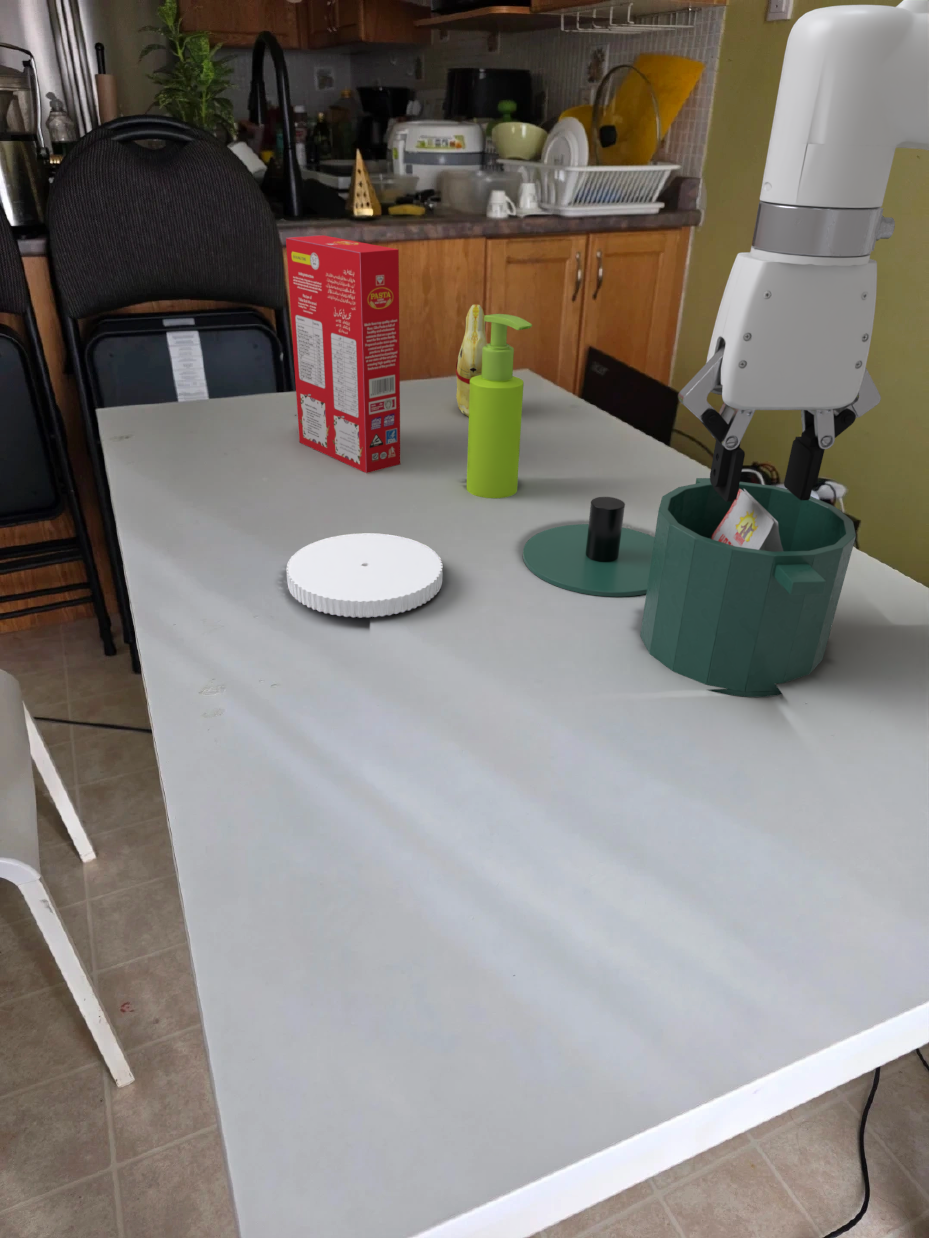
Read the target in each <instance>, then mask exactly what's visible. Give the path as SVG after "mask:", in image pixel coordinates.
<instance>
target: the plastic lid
mask: <svg viewBox="0 0 929 1238" xmlns="http://www.w3.org/2000/svg"><path fill="white" fill-rule="evenodd" d="M443 565H444V564H443V560H442V558H441V557H440V555H439V554H437V551H435V550H434V549H433V548H431V547H430V546H427V544H423V542H419V541H418V540H413V539H412V538H408V537H403V536H402V535H398V536H397V535H396V534H393V535H392V534H389V533H387V534H384V533H377V532H374V533H372V532H368V533H365V532H361V533H357V532H355V533H348V534H342V535H340V534H339V535H338V534H337V535H335V536H330V537H325V538H324V539H319V540H318V541H317V540H315V541H313V543H312V542H311V543H308V545H304V547H301V548H300V549H298V550H297V551H296V552H294V553H293V555H291V556H290V558H289V559H288V561H287V564H286V568H285V569H286V581H287V583H286V584H287V588H288V591H289V594H290V595H291V596H292V598H294V599H295V600H296V601H298V603H300V604H301V603H302V605H303V606H306V607H307V608H308V609H310V608H311V610H313V611H314V610H317V612H319V613H321V612H323V614H329V615H330V616H331V615H332V616H334V615H336V616H337V617H341V616H343V617H344V618H348V617H351V618H356V617H357V618H371V617H372V618H373V617H374V618H377V617H385V616H392V615H394V614H395V615H397V614H399V613H405V612H406V611H411V610H412V609H416V608H417V607H421V606H423V604H426V603H427V602H429V601H431V599H434V597H435V596H436V595H437V594H438V593H439V592H440V589H441V588H442V586H443V572H444V571H443V570H444V569H443V568H444V566H443Z"/></svg>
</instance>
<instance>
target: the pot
mask: <svg viewBox="0 0 929 1238" xmlns="http://www.w3.org/2000/svg"><path fill="white" fill-rule="evenodd" d="M739 488H740V489H741V490H743V491H744V489H745V490H746V491H747V492H748V493H749V494H750V495H751V496H752V497H753V498H754V499H755V500H756V501H757V502H758V503H759V504H760V505H761V506H762V507H763V508H764V509H765V510H766V511H768V512H769V513H770V514H771V515H772V516H773V517H774V518H775V519H776V520H777V521H778V529H779V536H780V541H781V545H782V548H783V552H771V551H764V550H757V549H750V548H743V547H736V546H732V545H729V544H726V543H722V542H719V541H716V540H713V539H711V538H712V535H713V533H714V532H715V530H716V529H717V527H718V526H719V524H720V523H721V521H722V520H723V518H724V517H725V515H726V514H727V512H728V511H729V509H730V507H731V505H732V504H733V502H734V501H733V502H726V501H725V500H724V499H723V498H722V497H721V496H720V495H719V494H718V493H717V492H716V491H715V490H714V488H713V485H712V484H711V482H710V477H696V479H695V483H693V484H686V485H681V486H678V487H676V488H674V489H673V490H671V491H670V492H668V493H666V494H664V495H662V497H661V500H660V502H659V503H660V504H659V507H658V512H657V517H656V518H657V519H656V524H655V530H654V537H655V538H654V545H653V552H652V558H651V565H650V572H649V579H648V586H647V592H646V594H645V600H644V607H643V614H642V620H641V628H640V634H639V636H640V639H641V641H642V642H643V644H644V646H645V648H646V650H647V652H648V654H649V655H651V656H652V657H653V658H654V659H656V660H657V661H658V662H659V663H661V664H662V665H663V666H665V667H666V668H668V669H669V670H670V671H671V672H673V673H675V674H678V675H680V676H683V677H686V678H688V679H691V680H693V681H696V682H698V683H700V684H703V685H706V686H709V687H710V686H711V687H716V688H711V689H705V690H706V691H709V692H714V693H717V694H722V695H728V696H736V697H747V698H765V697H775V696H780V695H783V692H782V691H781V690H780V688H779V687H778V686H777V684H784V683H788V682H791V681H795V680H796V679H800V678H802V677H805V676H808V675H810V674H811V673H812V672H813V671H814V670H815V669H816V668H817V667H818V666H819V665H820V663H821V662H822V661H823V659H824V656H825V652H826V649H827V645H828V642H829V637H830V633H831V630H832V627H833V622H834V619H835V616H836V612H837V607H838V604H839V600H840V598H841V594H842V590H843V585H844V581H845V578H846V574H847V570H848V567H849V565H850V564H849V563H850V560H851V556H852V553H853V549H854V544H855V541H856V537H857V535H856V530H855V525H854V520H852V519H851V518H850V517H848V516H847V515H846V514H845V513H843V512H842V511H841V510H840V509H839V508H837V507H836V506H835V505H833V504H830V503H828V502H826V501H823V500H820V499H818V498H816V497H813V496H810V499H809V500H800V499H798V498H797V497H796V496H795V495H793V494H792V493H791V492H790V491H789V490H788V489H787V488H785V487H780V486H776V485H771V484H770V485H769V484H761V483H753V482H745V481H740V483H739ZM739 488H738V491H739Z"/></svg>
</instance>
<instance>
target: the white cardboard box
mask: <svg viewBox="0 0 929 1238" xmlns="http://www.w3.org/2000/svg"><path fill="white" fill-rule="evenodd" d="M711 539H713V540H716V541H719V542H722V543H726V544H729V545H732V546H736V547H743V548H750V549H757V550H764V551H771V552H783V548H782V545H781V541H780V536H779V529H778V521H777V520H776V519H775V518H774V517H773V516H772V515H771V514H770V513H769V512H768V511H766V510H765V509H764V508H763V507H762V506H761V505H760V504H759V503H758V502H757V501H756V500H755V499H754V498H753V497H752V496H751V495H750V494H749V493H748V492H747V491H746V490H745V489H744V491H743V490H741V489H740V488H739V491H738V494H737V498H736V500H734V502H733V504H732V505H731V507H730V509H729V511H728V512H727V514H726V515H725V517H724V518H723V520H722V521H721V523H720V524H719V526H718V527H717V529H716V530H715V532H714V533H713V535H712V538H711Z"/></svg>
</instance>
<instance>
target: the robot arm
mask: <svg viewBox="0 0 929 1238" xmlns="http://www.w3.org/2000/svg"><path fill="white" fill-rule="evenodd" d="M781 67H782V68H781V74H780V79H779V85H778V90H777V97H776V102H775V106H774V107H775V108H774V112H773V113H774V114H773V120H772V125H771V126H772V127H771V132H770V135H769V142H768V147H767V154H766V159H765V164H764V165H765V166H764V171H763V176H762V177H763V178H762V182H761V189H760V194H759V200H760V201H758V206H757V211H756V217H755V224H754V229H753V234H752V241H751V246H750V251H749V252H748V251H747V252H738V253H737V254H736V257H735V259H734V262H733V264H732V268H731V270H730V273H729V276H728V278H727V281H726V285H725V287H724V290H723V294H722V297H721V300H720V305H719V308H718V311H717V314H716V317H715V318H716V319H715V323H714V326H713V331H712V335H711V338H710V343H709V347H708V351H707V356H706V362H705V364H704V365H703V366H702V367H701V368H700V369H699V371H697V373H695V375H694V376H693V377H692V378H691V379H690V380H689V381H688V382H687V383H686V384H685V385H684V387H682V389H681V390H680V391H679V392H678V394H677V399H678V401H679V402H680V403H681V404H682V405H683V406H684V407H685V408H687V410H689V411H690V413H692V414H693V415H694V416H695V417H696V418H697V419H698V420H699V421H700V422H701V424H702V425H703V426H704V428H705V429H706V430H707V431H708V432H709V433H710V435H711V436H712V438H714V439H715V444H714V449H713V456H712V462H711V467H710V473H709V478H710V482H711V484H712V485H713V488H714V490H715V491H716V492H717V493H718V494H719V495H720V496H721V497H722V498H723V499H724V500H725V501H726V502H733V501H734V500H736V498H737V494H738V488H739V483H740V482H741V477H742V472H743V466H744V461H745V457H746V453H745V450H744V449H742V448H741V442H742V439H743V437H744V435H745V433H746V431H747V429H748V427H749V424H750V423H751V421H752V418H753V416H754V415H755V412H756V411H800V416H801V417H800V419H801V429H802V430H801V431H802V432H801V435H800V436H795V437H794V440H793V441H792V444H791V448H790V453H789V456H788V457H789V458H788V462H787V467H786V472H785V475H784V476H785V477H784V481H783V486H784V489H788V490H789V491H790V492H791V493H792V494H793V495H795V496H796V497H797V498H798V499H800V500H809V499H810V496H811V495H812V491H813V487H814V486H815V485H816V484H817V482H818V480H819V475H820V471H821V467H822V462H823V458H824V453H825V450H828V449H830V448H832V446H833V445H834V444H835V439H837V437H839V436H840V435H841V434H842V433H843V432H845V431H846V430H847V429H848V428H849V427H851V426H852V425H853V424H854V423H855V422H856V419H857V418H861V417H862V416H864V415H866V413H868V412H869V411H871V410H872V409H874V408H875V407H876V406H878V405H880V402H881V400H882V396H881V394H880V392H879V390H878V388H877V386H876V384H875V382H874V380H873V378H872V376H871V375H870V373H869V370H868V369H867V363H868V362H867V361H868V357H869V352H870V348H871V347H870V346H871V340H872V335H873V328H874V322H875V312H876V301H877V290H878V289H877V288H878V287H877V286H878V261H876V260H875V259H872V258H870V257H871V253H872V252H874V251H875V247H876V244H877V243H876V242H877V241H880V240H889V239H890V238H891V237H892V236H893V234H894V231H895V227H896V221H895V218H894V217H887V216H884V215H883V212H884V208H883V203H884V199H885V195H886V190H887V186H888V182H889V177H890V173H891V169H892V166H893V161H894V157H895V153H896V149H913V150H914V149H915V150H924V151H929V0H902V1H901V2H900V3H898V5H896V6H892V5H880V4H844V5H833V6H826V7H820V8H815V9H813V10H810V11H807V12H805V13H804V14H803V15H802V16H800V17H799V18H798V19H797V20H796V21H795V23H794V24H793V26H792V27H791V30H790V32H789V35H788V37H787V42H786V47H785V51H784V56H783V61H782V66H781ZM711 393H713V394H715V395H720V396H721V397H722V404H721V407H720V409H719V411H717V410H716V409H715V408H714V406H712V405H711V404H710V403H709V402H708V396H709V394H711Z"/></svg>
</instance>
